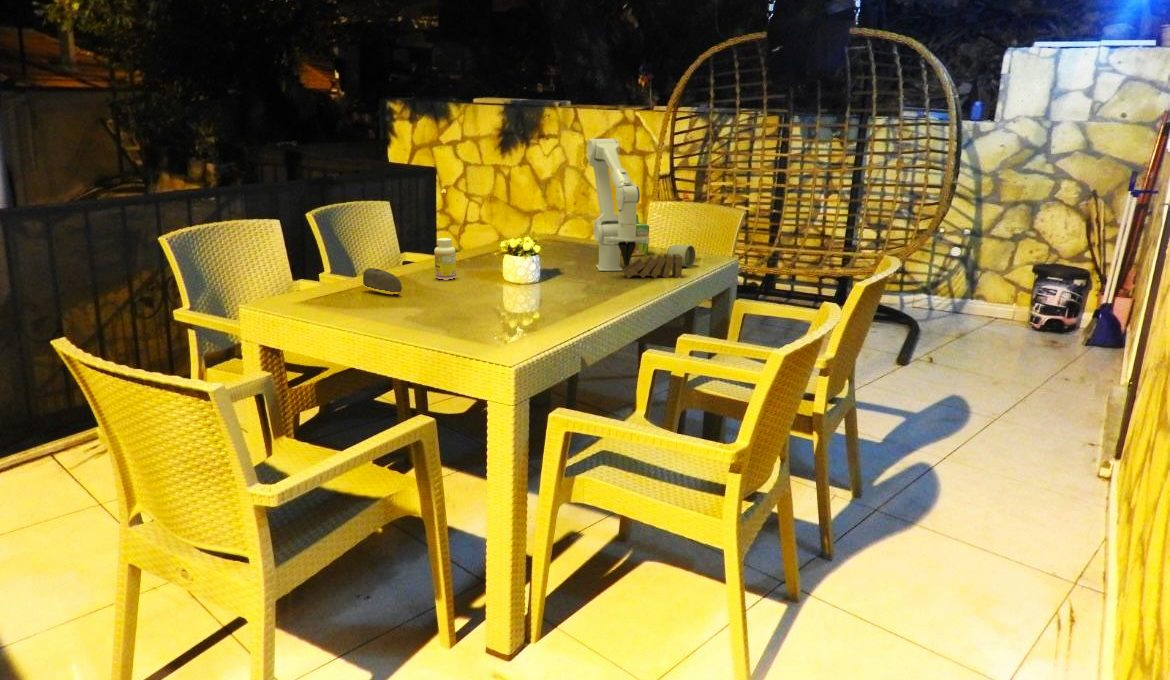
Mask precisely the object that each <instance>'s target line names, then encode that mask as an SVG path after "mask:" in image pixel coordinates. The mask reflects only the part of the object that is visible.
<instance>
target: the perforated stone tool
mask: <svg viewBox="0 0 1170 680" xmlns="http://www.w3.org/2000/svg"><path fill="white" fill-rule="evenodd" d="M362 273H363V275H362V282H363V286H364V285H365V286H367V287H371V288H374V289H379V290H385V291H390V292H400V293H401V292H402V291H403V286H402V283H401V280H400V279H399V278H398V277H397V276H396V275H395V274H393V273H390V272H388V271H386V270H383V269H379V268H374V267H370V268H366V269H364V271H363V272H362ZM365 286H364V287H365Z"/></svg>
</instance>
